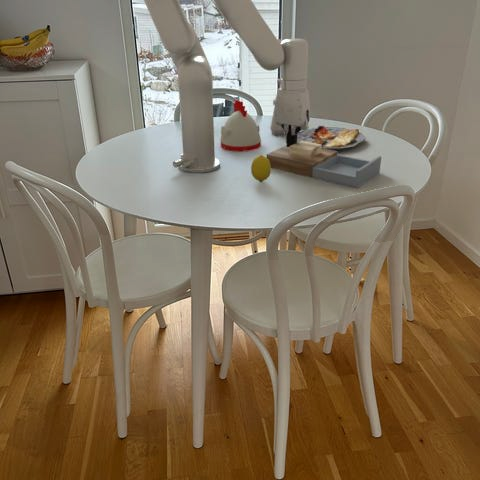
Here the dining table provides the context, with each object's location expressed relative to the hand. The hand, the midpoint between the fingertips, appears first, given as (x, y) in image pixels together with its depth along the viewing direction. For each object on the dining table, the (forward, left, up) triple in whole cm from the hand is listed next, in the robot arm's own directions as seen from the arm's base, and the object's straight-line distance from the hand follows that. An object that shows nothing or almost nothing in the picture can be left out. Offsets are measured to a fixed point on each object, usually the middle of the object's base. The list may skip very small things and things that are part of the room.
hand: (291, 146), depth 153 cm
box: (0, -19, -5) cm, 20 cm away
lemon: (-19, -2, -6) cm, 20 cm away
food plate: (+27, +1, -6) cm, 27 cm away
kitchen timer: (+6, +24, -6) cm, 25 cm away
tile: (0, -5, -1) cm, 5 cm away
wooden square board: (0, -4, -5) cm, 7 cm away
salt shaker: (+25, +21, -6) cm, 33 cm away
